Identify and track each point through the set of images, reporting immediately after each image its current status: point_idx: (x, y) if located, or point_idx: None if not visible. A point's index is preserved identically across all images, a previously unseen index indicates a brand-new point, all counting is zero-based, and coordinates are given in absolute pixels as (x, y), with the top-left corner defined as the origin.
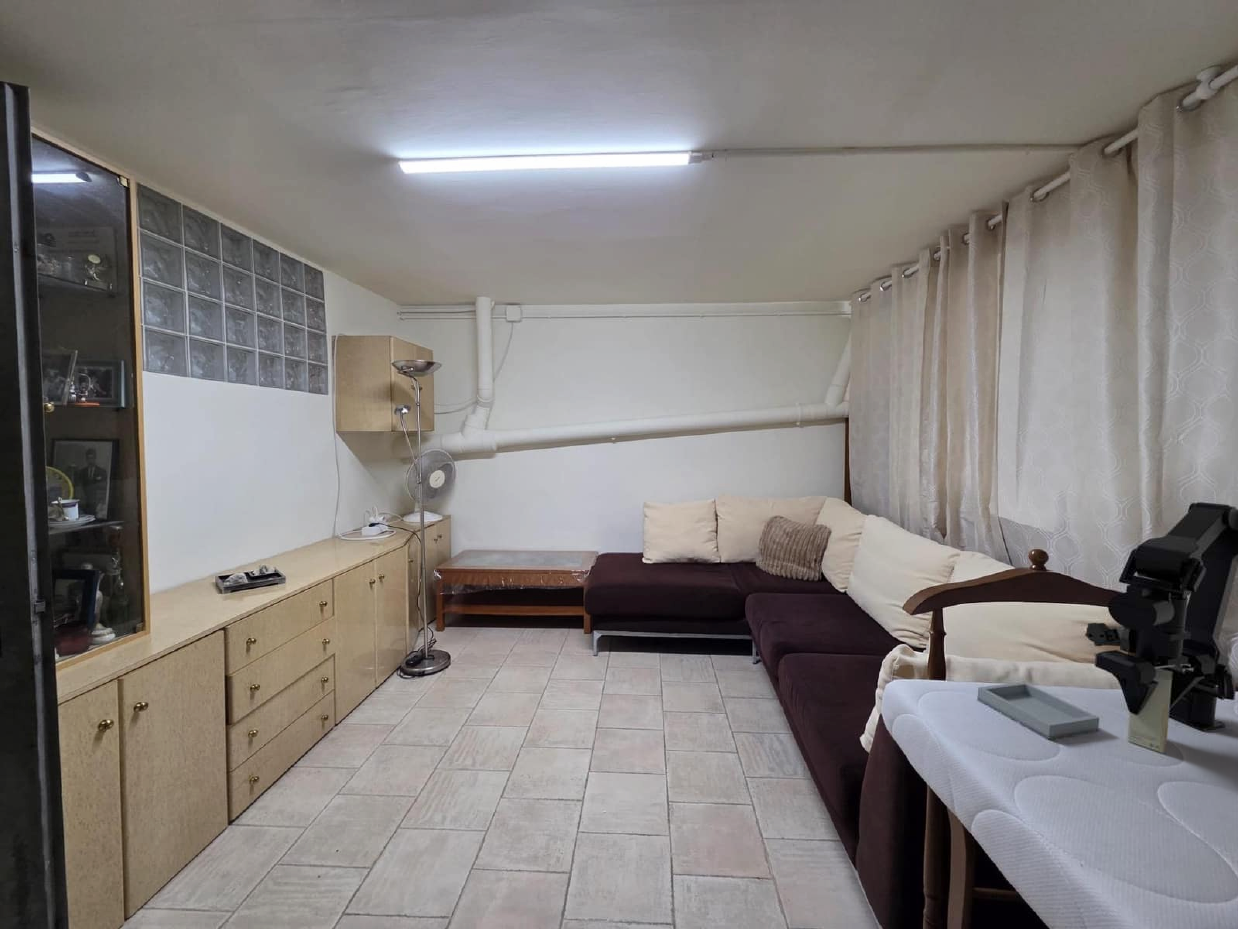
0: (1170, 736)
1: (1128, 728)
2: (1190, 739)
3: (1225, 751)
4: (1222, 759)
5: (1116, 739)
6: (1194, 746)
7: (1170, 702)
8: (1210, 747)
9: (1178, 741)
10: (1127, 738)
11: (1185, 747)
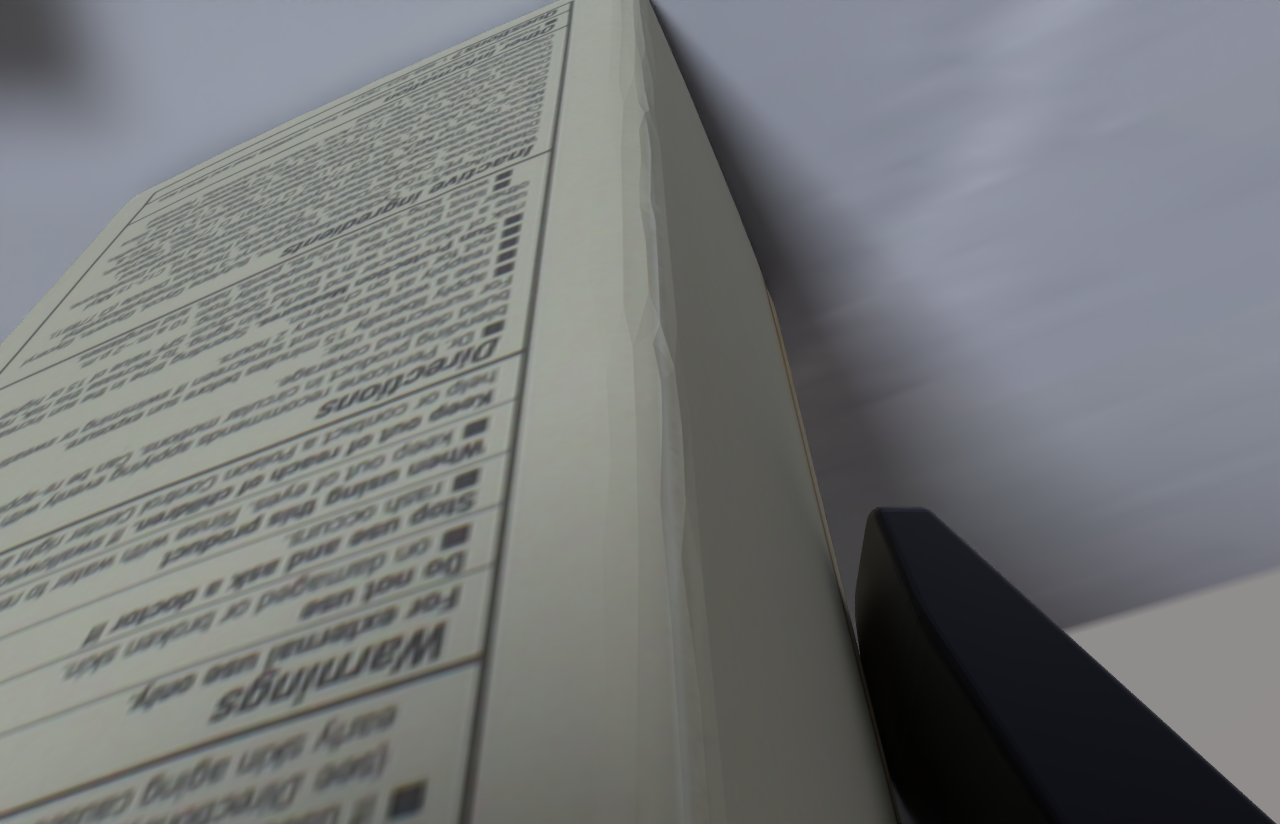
0: (1013, 242)
1: (47, 293)
2: (1191, 347)
3: (1218, 570)
4: None
5: (17, 113)
6: (996, 447)
7: (893, 782)
8: (1169, 496)
9: (947, 341)
10: (115, 215)
11: (844, 437)
